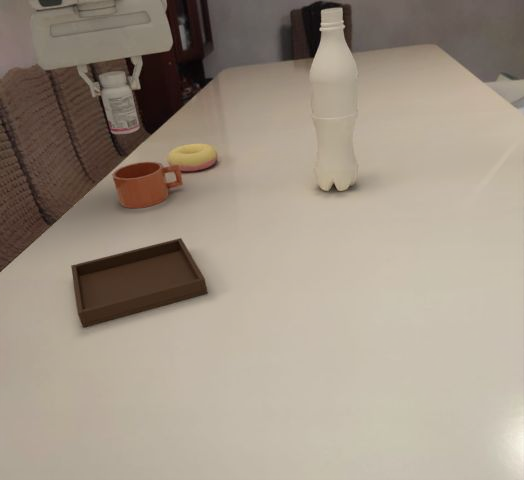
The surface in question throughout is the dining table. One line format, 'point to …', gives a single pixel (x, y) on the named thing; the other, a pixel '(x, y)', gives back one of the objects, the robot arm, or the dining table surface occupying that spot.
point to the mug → (144, 183)
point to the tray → (135, 281)
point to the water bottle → (334, 104)
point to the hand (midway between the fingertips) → (116, 92)
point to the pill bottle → (118, 103)
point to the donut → (193, 157)
